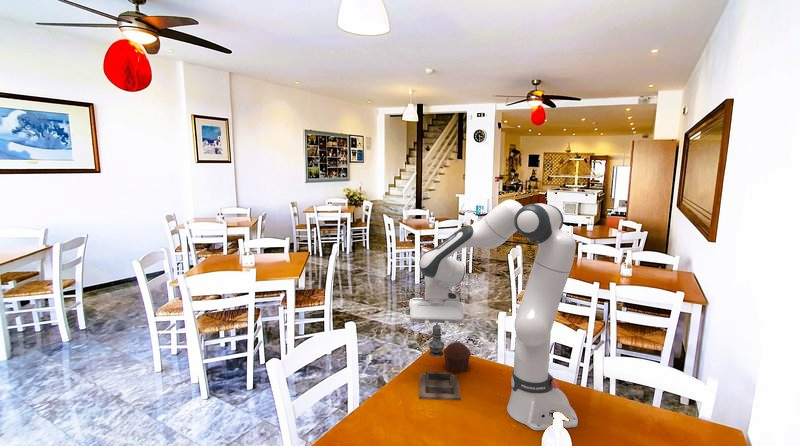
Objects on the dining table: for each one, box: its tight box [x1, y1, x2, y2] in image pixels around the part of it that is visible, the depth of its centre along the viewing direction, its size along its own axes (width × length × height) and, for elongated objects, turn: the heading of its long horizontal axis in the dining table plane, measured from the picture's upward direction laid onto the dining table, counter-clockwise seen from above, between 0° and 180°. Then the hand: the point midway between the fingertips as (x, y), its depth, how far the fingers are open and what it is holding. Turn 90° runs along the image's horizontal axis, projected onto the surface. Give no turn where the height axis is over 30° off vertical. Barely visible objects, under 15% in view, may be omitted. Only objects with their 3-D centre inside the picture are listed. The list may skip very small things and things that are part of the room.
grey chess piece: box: [428, 323, 445, 358], centre depth 143 cm, size 6×6×12 cm
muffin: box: [443, 341, 472, 373], centre depth 163 cm, size 12×11×10 cm
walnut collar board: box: [418, 371, 462, 401], centre depth 148 cm, size 15×15×4 cm
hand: (436, 333), depth 142 cm, fingers closed on grey chess piece, 4 cm apart
